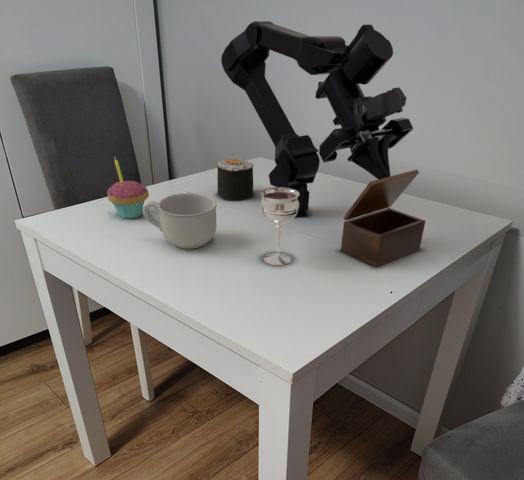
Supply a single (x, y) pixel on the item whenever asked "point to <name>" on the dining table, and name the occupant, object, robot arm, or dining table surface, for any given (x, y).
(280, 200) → the wineglass
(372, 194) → the lid
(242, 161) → the sushi
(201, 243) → the teacup
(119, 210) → the cupcake
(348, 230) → the chest
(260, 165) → the dining table surface
